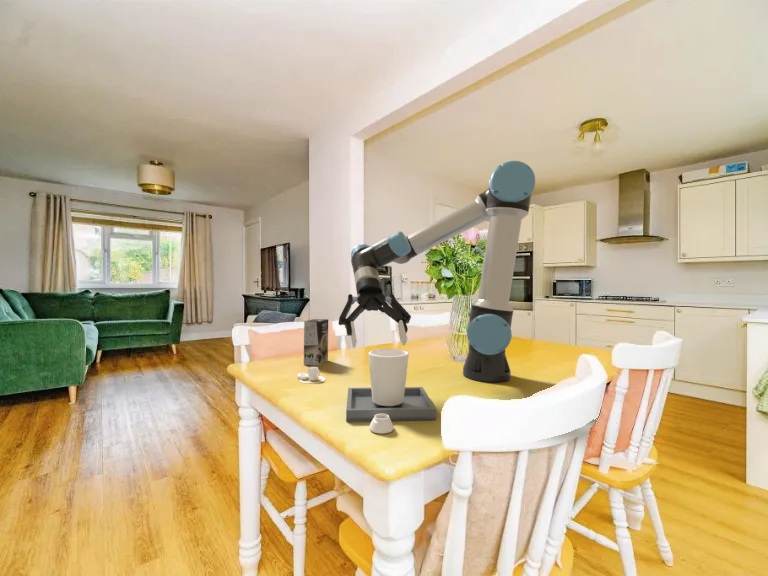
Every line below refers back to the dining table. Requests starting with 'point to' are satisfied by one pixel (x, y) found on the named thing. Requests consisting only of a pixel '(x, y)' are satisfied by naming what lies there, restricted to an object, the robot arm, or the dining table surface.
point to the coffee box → (315, 342)
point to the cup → (388, 376)
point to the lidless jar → (381, 424)
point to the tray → (411, 409)
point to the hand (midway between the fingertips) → (380, 343)
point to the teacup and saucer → (310, 375)
